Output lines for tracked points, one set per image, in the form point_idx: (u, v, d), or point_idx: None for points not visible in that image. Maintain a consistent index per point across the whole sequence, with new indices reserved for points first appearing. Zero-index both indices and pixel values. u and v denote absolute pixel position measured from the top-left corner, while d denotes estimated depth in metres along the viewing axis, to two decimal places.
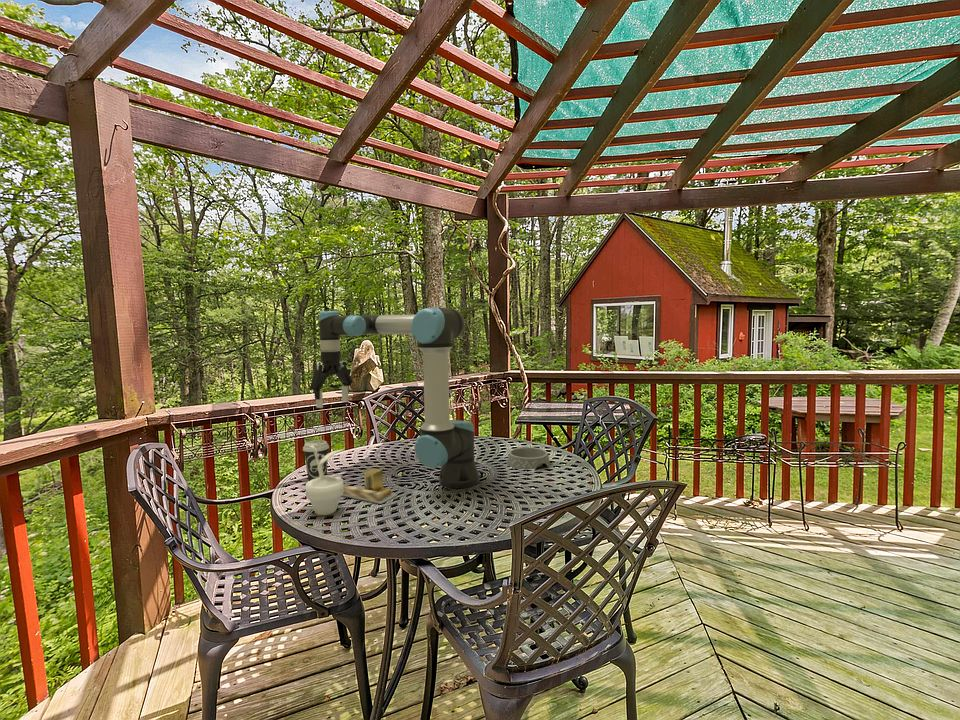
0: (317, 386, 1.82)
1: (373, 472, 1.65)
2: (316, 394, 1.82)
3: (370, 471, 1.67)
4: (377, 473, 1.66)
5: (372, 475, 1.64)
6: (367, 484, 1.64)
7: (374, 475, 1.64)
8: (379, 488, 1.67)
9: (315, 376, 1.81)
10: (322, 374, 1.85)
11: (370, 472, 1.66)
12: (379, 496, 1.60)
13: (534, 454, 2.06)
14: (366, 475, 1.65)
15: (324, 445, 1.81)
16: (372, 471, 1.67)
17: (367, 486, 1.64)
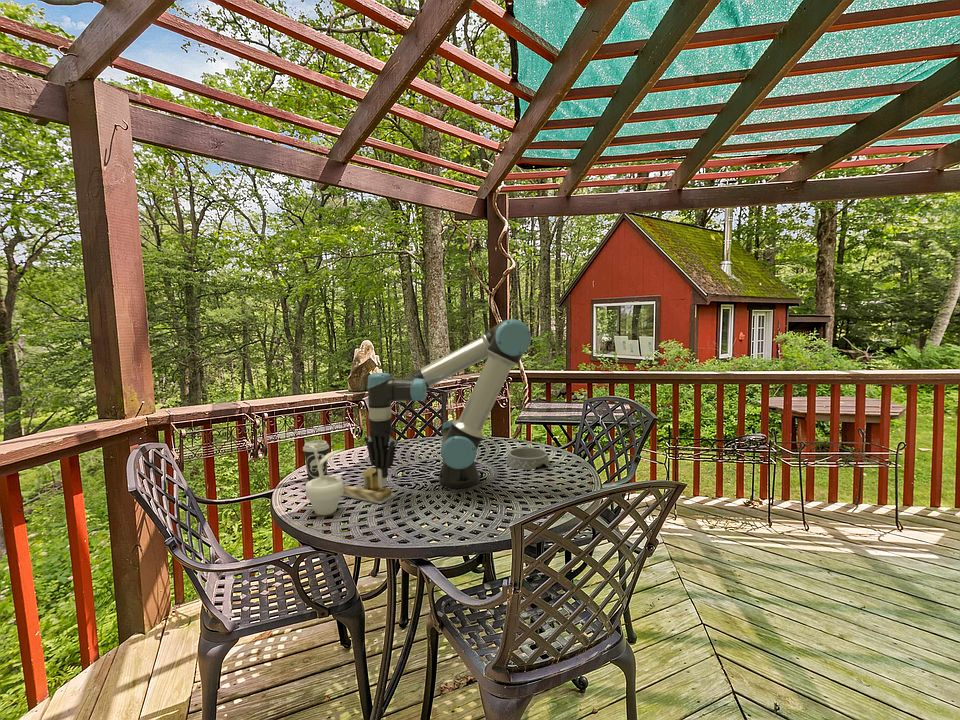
0: None
1: (372, 472, 1.66)
2: None
3: (369, 471, 1.67)
4: None
5: (371, 475, 1.64)
6: (366, 484, 1.64)
7: (373, 475, 1.65)
8: (378, 488, 1.67)
9: None
10: None
11: (369, 472, 1.66)
12: (379, 496, 1.60)
13: (534, 454, 2.06)
14: (365, 475, 1.65)
15: (324, 445, 1.81)
16: (371, 471, 1.67)
17: (366, 486, 1.65)
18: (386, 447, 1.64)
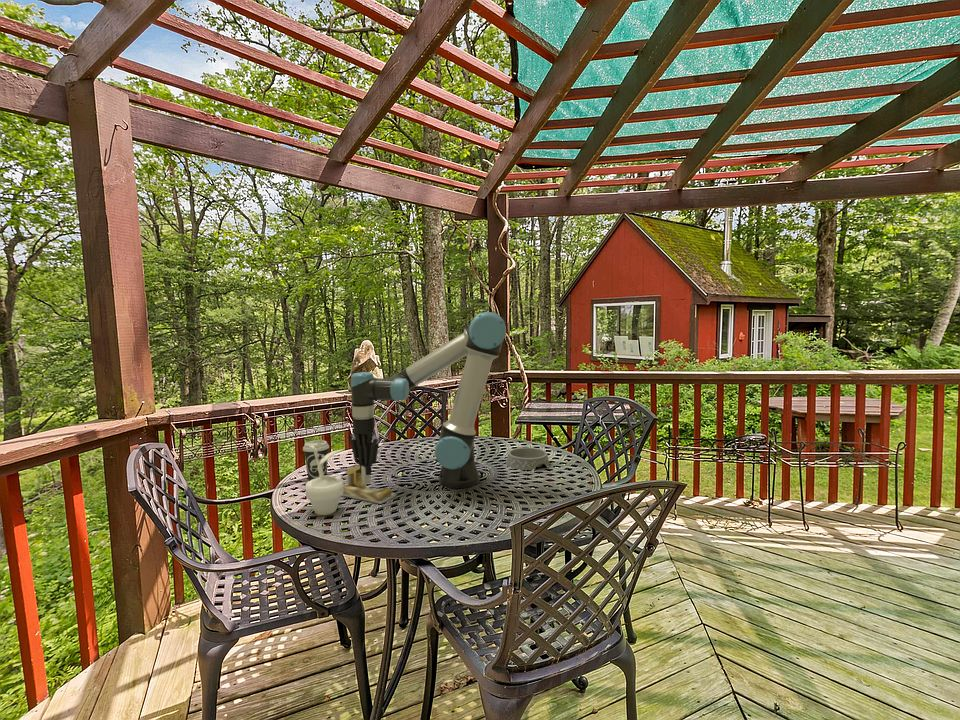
0: None
1: (356, 469, 1.69)
2: None
3: (353, 468, 1.70)
4: (359, 470, 1.69)
5: (354, 472, 1.68)
6: (350, 481, 1.68)
7: (356, 472, 1.68)
8: (362, 485, 1.71)
9: None
10: None
11: (353, 469, 1.69)
12: (379, 496, 1.60)
13: (533, 454, 2.06)
14: (349, 472, 1.69)
15: (324, 445, 1.81)
16: (355, 468, 1.71)
17: (350, 483, 1.68)
18: (369, 445, 1.67)
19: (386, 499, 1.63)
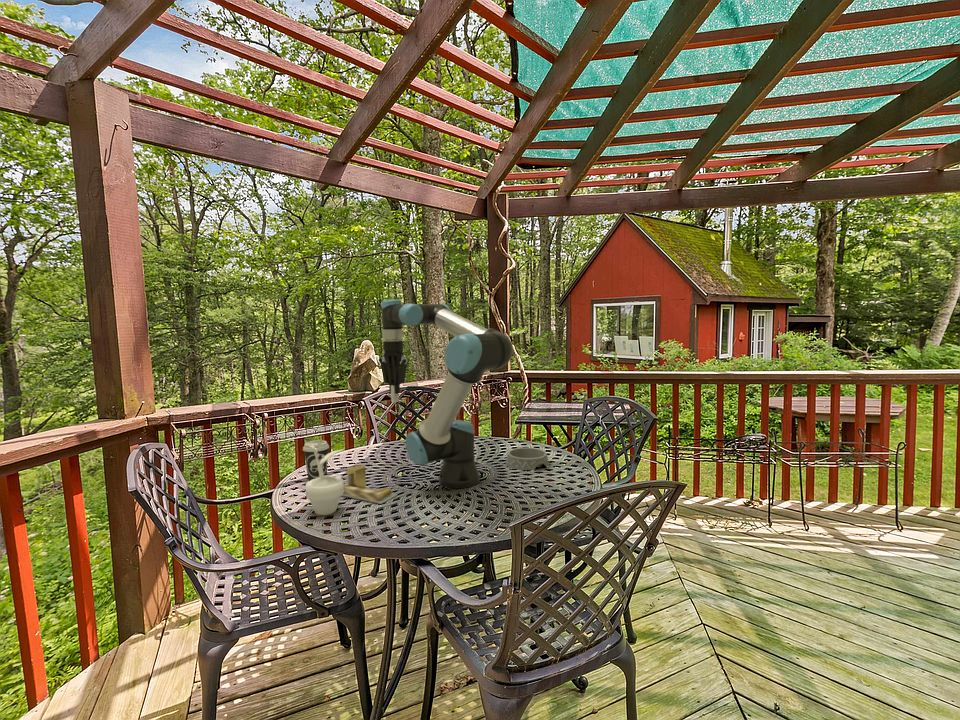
0: None
1: (356, 469, 1.69)
2: None
3: (353, 468, 1.70)
4: (359, 470, 1.69)
5: (354, 472, 1.68)
6: (350, 481, 1.68)
7: (356, 472, 1.68)
8: (362, 485, 1.71)
9: None
10: None
11: (353, 469, 1.69)
12: (379, 496, 1.60)
13: (533, 454, 2.06)
14: (349, 472, 1.69)
15: (324, 445, 1.81)
16: (355, 468, 1.71)
17: (350, 483, 1.68)
18: (398, 366, 1.83)
19: (386, 499, 1.63)
